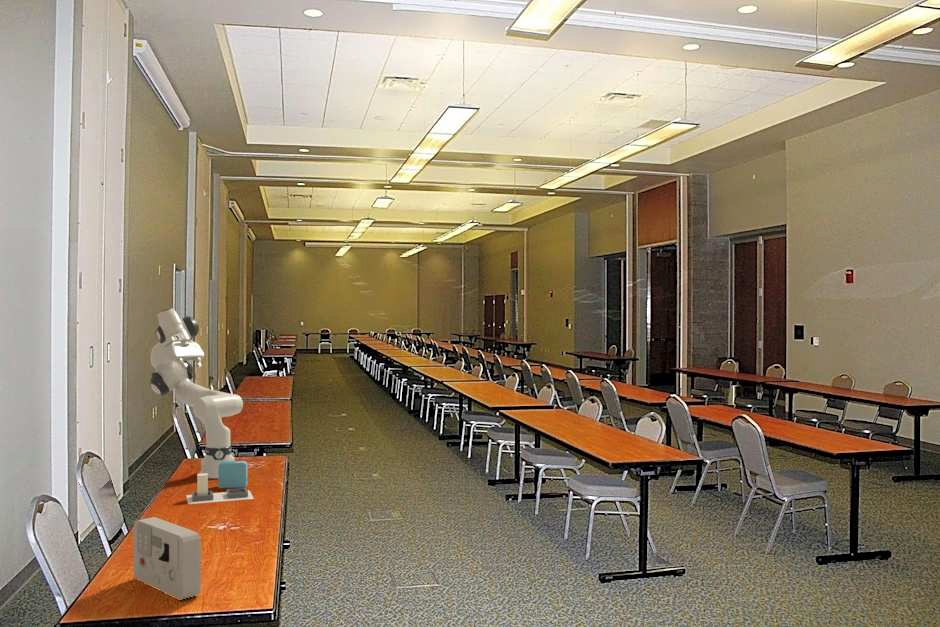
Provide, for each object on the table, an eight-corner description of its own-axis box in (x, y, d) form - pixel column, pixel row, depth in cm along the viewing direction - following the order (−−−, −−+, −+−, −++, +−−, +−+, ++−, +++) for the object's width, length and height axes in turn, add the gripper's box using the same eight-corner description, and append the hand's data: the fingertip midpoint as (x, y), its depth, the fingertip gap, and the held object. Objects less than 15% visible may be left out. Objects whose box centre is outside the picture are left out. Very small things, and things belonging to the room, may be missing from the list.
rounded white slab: (125, 581, 228) (125, 520, 228) (150, 574, 234) (150, 515, 234) (175, 605, 210) (175, 539, 210) (200, 597, 216) (201, 533, 215)
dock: (186, 497, 328) (186, 490, 328) (249, 492, 338) (249, 485, 338) (188, 506, 313) (188, 499, 313) (253, 501, 323) (254, 493, 323)
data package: (247, 487, 348) (247, 460, 348) (246, 489, 344) (246, 462, 344) (219, 487, 346) (220, 461, 346) (218, 490, 342) (218, 463, 342)
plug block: (197, 497, 324) (197, 473, 324) (207, 496, 326) (207, 473, 326) (197, 499, 320) (197, 475, 320) (207, 499, 322) (207, 475, 322)
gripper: (190, 344, 355) (202, 370, 352) (158, 344, 335) (171, 372, 333) (200, 337, 353) (212, 363, 350) (168, 337, 334) (182, 364, 331)
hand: (192, 367), depth 341 cm, fingers open, 8 cm apart
